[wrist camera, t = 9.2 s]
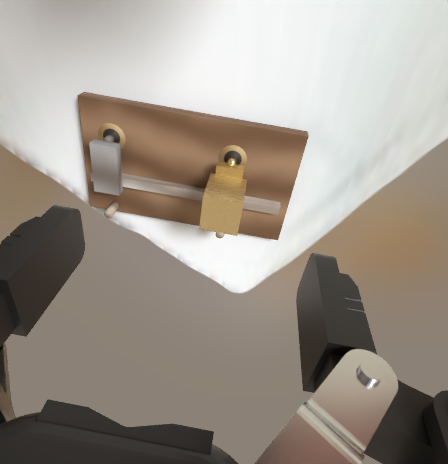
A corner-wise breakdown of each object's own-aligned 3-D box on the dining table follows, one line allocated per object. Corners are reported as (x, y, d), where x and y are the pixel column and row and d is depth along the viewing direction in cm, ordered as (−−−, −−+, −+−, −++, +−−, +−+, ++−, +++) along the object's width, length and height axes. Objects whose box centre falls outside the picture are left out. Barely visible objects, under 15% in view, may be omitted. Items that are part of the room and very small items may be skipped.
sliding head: (215, 153, 37) (204, 182, 32) (250, 159, 37) (246, 189, 32) (208, 202, 41) (198, 236, 35) (241, 208, 41) (235, 243, 35)
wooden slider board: (83, 92, 37) (65, 101, 34) (307, 131, 37) (310, 144, 33) (95, 200, 45) (81, 216, 42) (277, 233, 45) (278, 252, 42)
